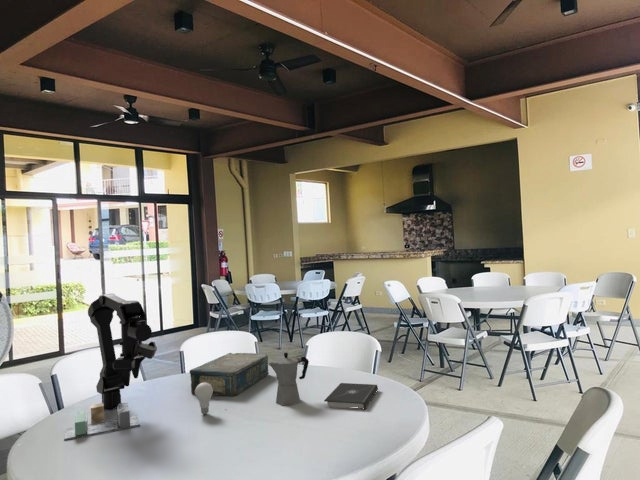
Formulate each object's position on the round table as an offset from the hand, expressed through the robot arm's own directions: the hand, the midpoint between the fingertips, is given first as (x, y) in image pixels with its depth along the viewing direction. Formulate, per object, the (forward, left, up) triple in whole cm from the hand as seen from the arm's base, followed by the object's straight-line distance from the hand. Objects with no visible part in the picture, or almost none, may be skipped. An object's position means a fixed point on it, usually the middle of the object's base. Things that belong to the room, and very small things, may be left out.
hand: (131, 382), depth 168 cm
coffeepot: (+45, +33, -13) cm, 57 cm away
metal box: (+10, +45, -13) cm, 47 cm away
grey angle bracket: (-2, -11, -12) cm, 17 cm away
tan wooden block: (-11, -6, -12) cm, 17 cm away
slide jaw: (-6, -16, -11) cm, 20 cm away
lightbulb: (+23, +11, -13) cm, 28 cm away
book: (+66, +42, -13) cm, 79 cm away
